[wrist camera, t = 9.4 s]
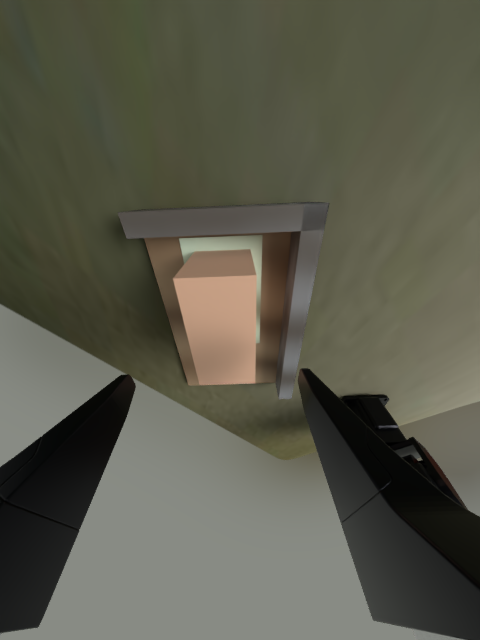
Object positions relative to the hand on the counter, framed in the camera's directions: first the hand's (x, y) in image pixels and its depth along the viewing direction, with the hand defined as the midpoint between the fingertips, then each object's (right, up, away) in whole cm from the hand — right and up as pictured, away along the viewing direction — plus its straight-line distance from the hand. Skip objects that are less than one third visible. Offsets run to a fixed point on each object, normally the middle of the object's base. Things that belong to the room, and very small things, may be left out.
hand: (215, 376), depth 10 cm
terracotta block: (0, +5, +8) cm, 9 cm away
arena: (+1, +3, +10) cm, 10 cm away
